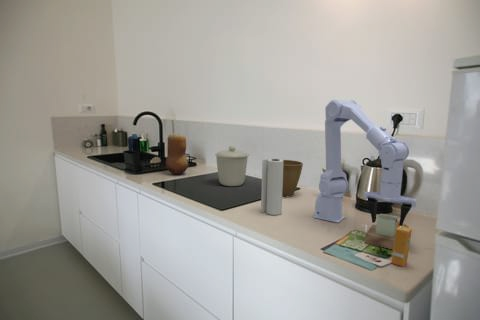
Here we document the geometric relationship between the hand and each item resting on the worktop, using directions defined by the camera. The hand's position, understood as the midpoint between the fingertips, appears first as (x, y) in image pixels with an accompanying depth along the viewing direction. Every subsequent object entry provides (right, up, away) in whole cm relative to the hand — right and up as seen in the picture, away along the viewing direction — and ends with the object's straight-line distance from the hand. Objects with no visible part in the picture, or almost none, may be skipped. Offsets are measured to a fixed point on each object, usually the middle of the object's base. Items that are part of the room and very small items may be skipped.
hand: (386, 224), depth 98 cm
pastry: (+7, -4, +12) cm, 15 cm away
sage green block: (0, -3, 0) cm, 3 cm away
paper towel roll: (-33, -1, +27) cm, 43 cm away
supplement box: (-3, -8, -13) cm, 15 cm away
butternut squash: (-85, +11, +97) cm, 129 cm away
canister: (-50, +7, +73) cm, 89 cm away
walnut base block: (0, -6, +1) cm, 6 cm away
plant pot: (-24, +3, +53) cm, 59 cm away
